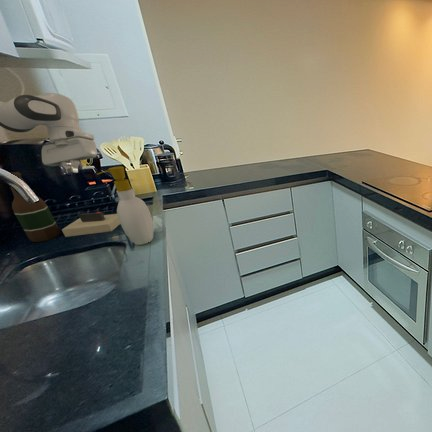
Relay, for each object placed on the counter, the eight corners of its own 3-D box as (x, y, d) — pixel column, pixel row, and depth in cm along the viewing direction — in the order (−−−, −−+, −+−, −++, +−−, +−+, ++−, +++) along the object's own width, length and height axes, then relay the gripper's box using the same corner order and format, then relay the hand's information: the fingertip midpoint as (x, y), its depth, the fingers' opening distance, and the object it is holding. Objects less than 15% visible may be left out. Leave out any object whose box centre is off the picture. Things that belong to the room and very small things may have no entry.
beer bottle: (28, 239, 105) (-9, 174, 96) (58, 230, 111) (26, 168, 102) (33, 244, 101) (-6, 177, 92) (64, 235, 107) (31, 171, 97)
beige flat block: (65, 237, 106) (61, 229, 105) (83, 224, 116) (79, 217, 115) (111, 231, 110) (108, 223, 109) (125, 219, 120) (122, 212, 119)
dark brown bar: (82, 222, 111) (78, 214, 109) (84, 220, 112) (81, 212, 111) (102, 220, 112) (99, 212, 110) (105, 219, 113) (102, 211, 112)
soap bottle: (128, 236, 106) (99, 165, 96) (159, 229, 111) (133, 161, 100) (123, 253, 95) (89, 174, 85) (157, 245, 100) (129, 170, 89)
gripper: (32, 141, 111) (39, 177, 111) (79, 130, 109) (86, 167, 109) (52, 144, 118) (59, 178, 118) (97, 134, 116) (104, 169, 116)
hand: (72, 173), depth 114 cm, fingers closed
